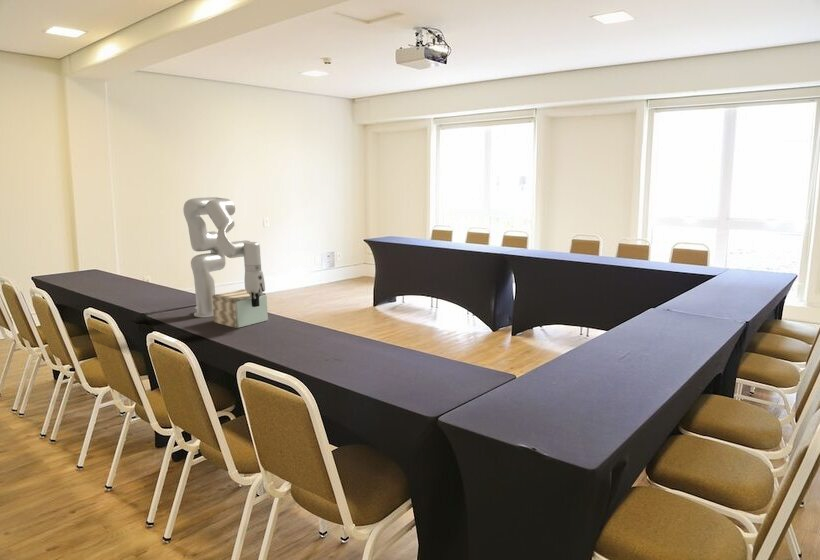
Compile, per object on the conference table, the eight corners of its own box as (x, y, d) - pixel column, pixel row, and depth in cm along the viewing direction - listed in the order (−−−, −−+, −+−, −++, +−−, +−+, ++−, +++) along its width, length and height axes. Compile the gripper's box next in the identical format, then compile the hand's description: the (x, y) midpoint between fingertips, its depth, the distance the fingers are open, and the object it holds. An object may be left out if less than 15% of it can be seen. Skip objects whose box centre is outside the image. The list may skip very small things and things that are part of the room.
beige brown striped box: (214, 322, 282) (212, 295, 279) (245, 314, 296) (243, 289, 293) (236, 328, 271) (234, 300, 268) (267, 320, 285) (265, 293, 282)
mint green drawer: (217, 322, 281) (215, 297, 279) (246, 315, 294) (244, 291, 292) (238, 327, 270) (236, 301, 268) (268, 320, 283) (266, 295, 281)
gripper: (269, 268, 269) (272, 306, 272) (249, 265, 278) (252, 303, 281) (256, 270, 263) (259, 309, 266) (236, 268, 272) (239, 305, 275)
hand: (255, 306), depth 274 cm, fingers closed
